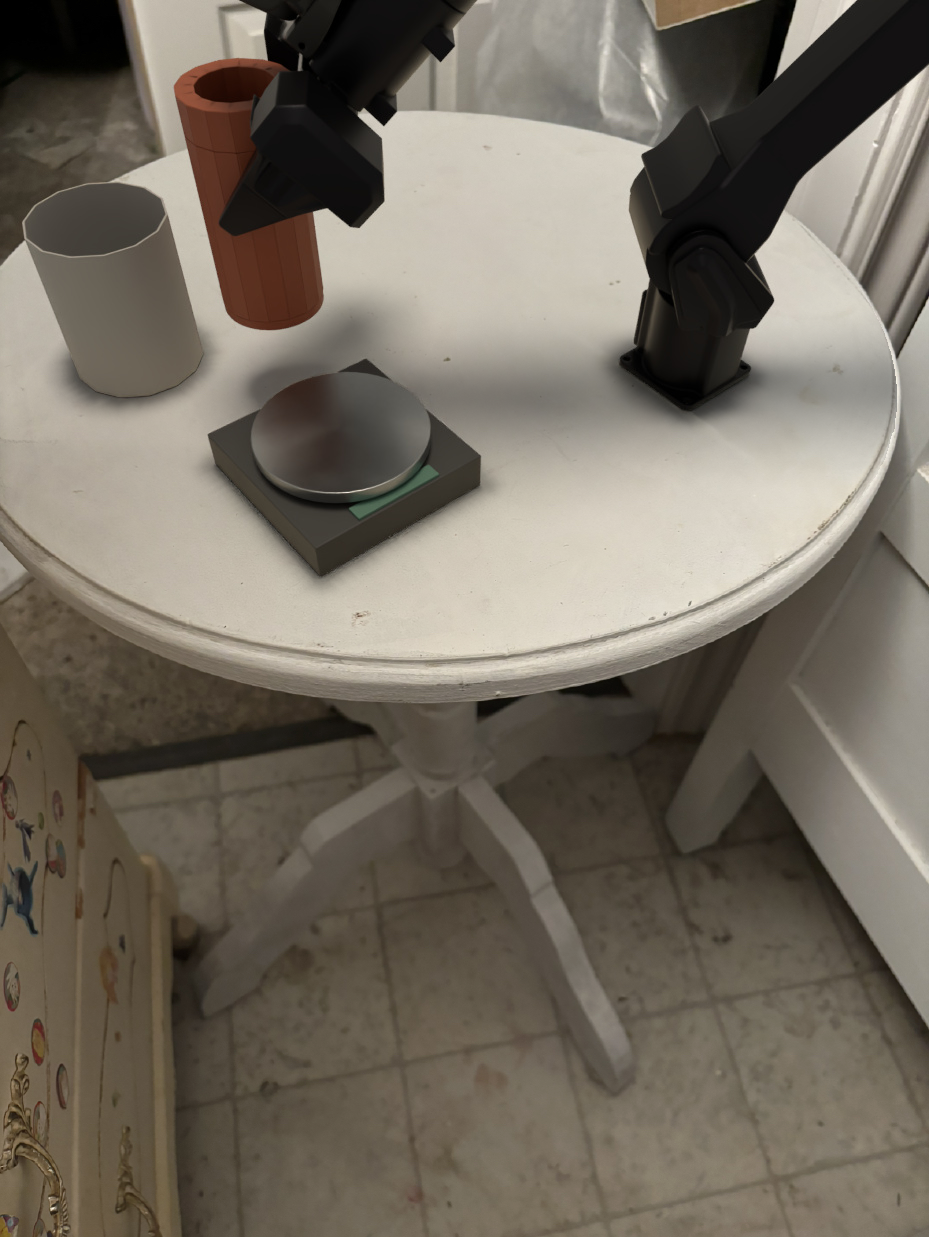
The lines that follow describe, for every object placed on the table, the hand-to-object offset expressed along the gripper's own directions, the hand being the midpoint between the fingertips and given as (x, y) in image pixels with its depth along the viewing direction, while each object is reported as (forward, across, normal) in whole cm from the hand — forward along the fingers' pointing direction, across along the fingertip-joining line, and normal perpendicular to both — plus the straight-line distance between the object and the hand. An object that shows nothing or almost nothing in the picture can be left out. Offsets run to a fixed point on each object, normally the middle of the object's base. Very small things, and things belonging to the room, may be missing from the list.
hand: (231, 197), depth 51 cm
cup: (+15, -3, +3) cm, 16 cm away
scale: (+5, +9, +13) cm, 16 cm away
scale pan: (+3, +9, +11) cm, 14 cm away
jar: (+4, 0, +6) cm, 7 cm away
